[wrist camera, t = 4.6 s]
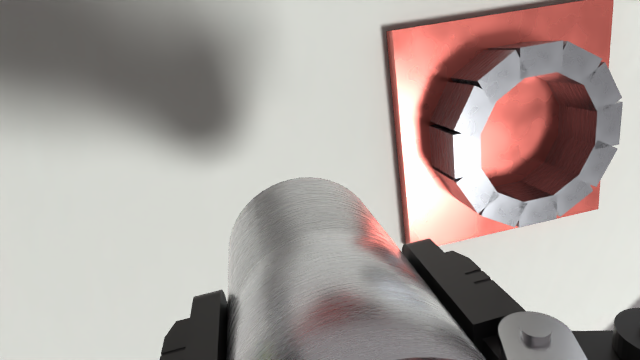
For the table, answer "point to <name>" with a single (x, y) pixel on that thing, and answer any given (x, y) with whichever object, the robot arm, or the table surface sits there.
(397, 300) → the cylinder
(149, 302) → the table surface
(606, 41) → the collar
